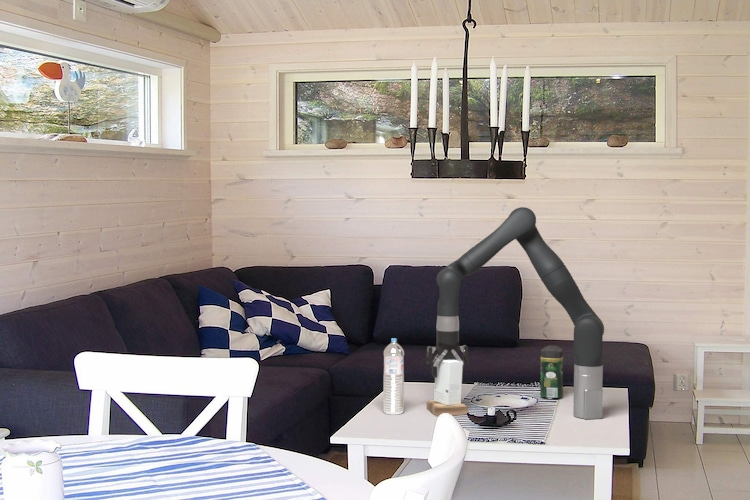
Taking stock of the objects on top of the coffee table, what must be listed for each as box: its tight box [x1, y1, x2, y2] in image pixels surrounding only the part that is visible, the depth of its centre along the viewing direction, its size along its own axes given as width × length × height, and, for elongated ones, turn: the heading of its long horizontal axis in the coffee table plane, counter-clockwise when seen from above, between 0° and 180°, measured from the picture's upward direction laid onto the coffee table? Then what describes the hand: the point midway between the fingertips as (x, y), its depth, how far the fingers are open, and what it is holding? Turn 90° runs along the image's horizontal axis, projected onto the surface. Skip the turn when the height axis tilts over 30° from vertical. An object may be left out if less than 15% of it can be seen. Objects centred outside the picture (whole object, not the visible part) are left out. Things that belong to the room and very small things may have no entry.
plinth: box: [426, 399, 469, 417], centre depth 315 cm, size 11×11×3 cm
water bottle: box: [382, 337, 405, 416], centre depth 313 cm, size 7×7×25 cm
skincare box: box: [433, 358, 464, 405], centre depth 315 cm, size 8×6×15 cm
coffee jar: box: [539, 345, 564, 399], centre depth 339 cm, size 10×8×19 cm
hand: (447, 376), depth 315 cm, fingers open, 8 cm apart
